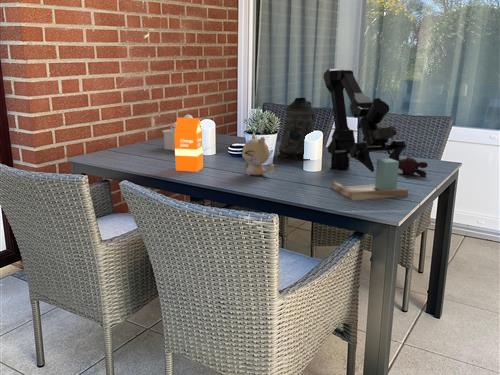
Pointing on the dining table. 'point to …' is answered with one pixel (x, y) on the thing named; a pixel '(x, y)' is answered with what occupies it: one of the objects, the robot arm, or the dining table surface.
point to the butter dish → (172, 136)
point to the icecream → (412, 166)
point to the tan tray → (367, 191)
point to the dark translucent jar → (296, 128)
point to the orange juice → (188, 144)
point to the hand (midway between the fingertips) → (385, 170)
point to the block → (386, 174)
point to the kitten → (256, 156)
